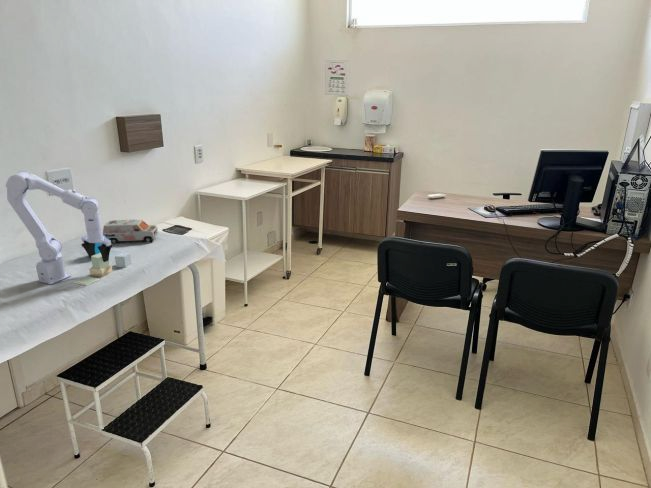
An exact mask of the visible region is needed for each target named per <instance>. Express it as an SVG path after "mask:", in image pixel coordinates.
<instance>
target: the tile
mask: <svg viewBox="0 0 651 488" xmlns="http://www.w3.org/2000/svg"><path fill="white" fill-rule="evenodd" d="M100 280H101V278H98V277H95V276H89V275H88V276H85V277H84V278H81V279H79V280H76V281H73V283H74V284H79V285H82V286H86V287H87V286H88V285H92V284H93V283H96V282H98V281H100Z"/></svg>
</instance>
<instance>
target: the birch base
mask: <svg viewBox="0 0 651 488" xmlns="http://www.w3.org/2000/svg"><path fill="white" fill-rule="evenodd" d="M113 271H114V270H113V265H112V264H109V266H108V267H105V268H103V269H97V268H93V266H92V267H90V268H89V275H90V277H96V278H98V277H99V278H104V277H106V276H108V275H109V274H111V273H113Z"/></svg>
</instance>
